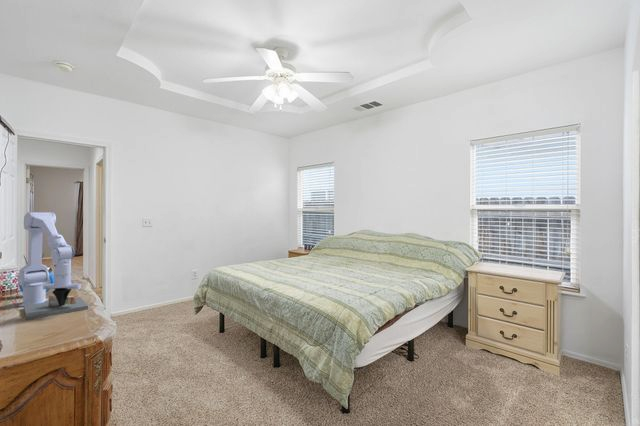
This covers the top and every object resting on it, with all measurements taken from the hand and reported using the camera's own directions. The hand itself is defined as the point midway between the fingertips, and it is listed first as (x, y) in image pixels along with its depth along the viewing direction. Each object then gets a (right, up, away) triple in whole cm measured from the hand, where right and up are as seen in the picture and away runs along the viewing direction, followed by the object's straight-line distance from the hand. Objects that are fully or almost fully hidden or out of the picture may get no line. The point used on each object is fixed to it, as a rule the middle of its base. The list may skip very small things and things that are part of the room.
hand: (61, 305), depth 131 cm
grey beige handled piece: (-3, -1, +4) cm, 5 cm away
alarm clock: (-35, -3, +26) cm, 44 cm away
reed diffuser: (-48, -3, +39) cm, 62 cm away
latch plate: (-7, -3, +4) cm, 8 cm away
